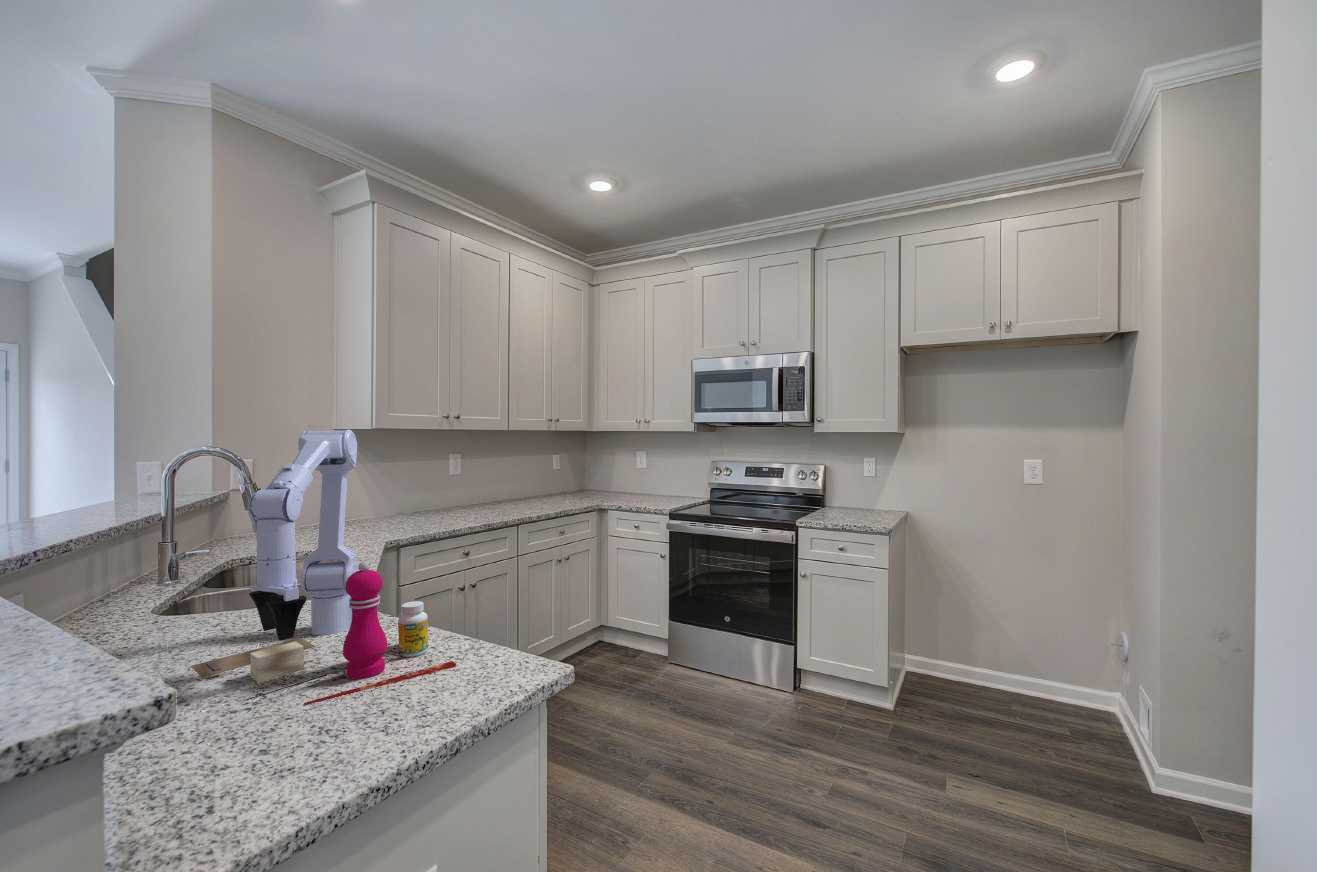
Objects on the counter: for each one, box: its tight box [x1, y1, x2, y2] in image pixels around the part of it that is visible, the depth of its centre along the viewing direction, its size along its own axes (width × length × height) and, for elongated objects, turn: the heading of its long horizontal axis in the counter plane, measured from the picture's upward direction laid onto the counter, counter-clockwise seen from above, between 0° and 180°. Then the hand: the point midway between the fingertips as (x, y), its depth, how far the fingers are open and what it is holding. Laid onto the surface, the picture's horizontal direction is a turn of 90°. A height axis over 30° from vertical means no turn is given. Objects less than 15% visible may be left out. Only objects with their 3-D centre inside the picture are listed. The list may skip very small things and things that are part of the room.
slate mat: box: [246, 674, 328, 701], centre depth 101 cm, size 12×10×1 cm
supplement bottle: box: [397, 600, 429, 658], centre depth 113 cm, size 5×5×10 cm
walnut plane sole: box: [190, 637, 317, 678], centre depth 109 cm, size 18×8×1 cm, turn 140°
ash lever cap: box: [250, 641, 305, 684], centre depth 101 cm, size 7×4×5 cm, turn 141°
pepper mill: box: [342, 561, 388, 680], centre depth 104 cm, size 7×7×20 cm
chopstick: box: [303, 660, 457, 706], centre depth 99 cm, size 2×24×1 cm, turn 129°
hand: (278, 633), depth 101 cm, fingers open, 7 cm apart
